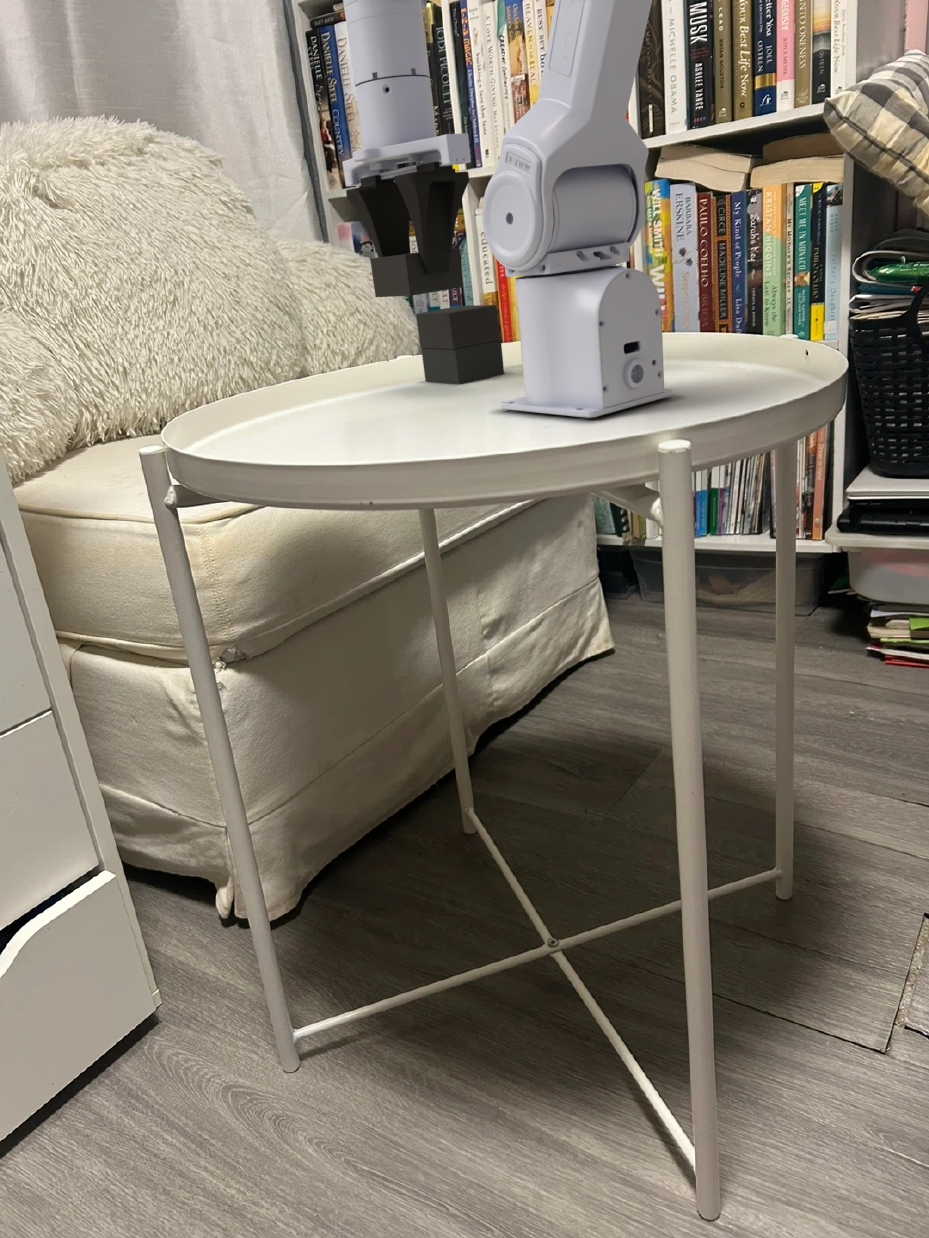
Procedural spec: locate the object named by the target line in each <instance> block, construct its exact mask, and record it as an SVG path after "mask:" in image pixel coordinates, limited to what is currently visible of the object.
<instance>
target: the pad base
mask: <svg viewBox="0 0 929 1238" xmlns="http://www.w3.org/2000/svg"><path fill="white" fill-rule="evenodd" d="M420 349H421V357H422V365H423V373H424V380H425V382H426V383H436V384H437V383H438V384H453V385H461V384H466V383H471V382H475V381H479V380H485V379H488V378H492V377H496V376H502V375H504V374H505V367H504V357H503V356H504V355H503V347H502V339H500V340H497V341H493V342H488V343H483V344H478V345H473V346H468V347H463V348H458V349H431V348H420Z"/></svg>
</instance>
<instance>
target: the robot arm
mask: <svg viewBox="0 0 929 1238" xmlns="http://www.w3.org/2000/svg"><path fill="white" fill-rule="evenodd" d="M427 1H428V0H342V3H343V8H344V18H345V24H346V31H347V38H348V46H349V53H350V59H351V60H350V62H351V67H352V74H353V81H354V82H353V83H354V88H355V95H356V103H357V111H358V118H359V124H360V125H359V126H360V132H361V139H362V146H363V147H362V148H363V149H358V150H356V151H353V152H352V158H349V159H347V160H343V161H342V169H343V176H344V183H345V187H354V188H348V189H346V190H345V195H346V199H347V200H348V202H349V203H350V204H351V206H352V207H353V209H354V210H355V211H356V213H357V215H358V216H359V218H360V220H361V221H362V222H363V225H364V227H365V229H366V231H367V233H368V235H369V237H370V240H371V242H372V245H373V247H374V250H375V253H376V255H377V258H378V257H386V256H394V255H401V254H409V253H411V241H410V221H411V223H412V227H413V232H414V236H415V237H414V238H415V242H416V249H417V252H418V253H419V256H420V260H421V263H422V267H423V269H424V272H425V274H431V273H437V272H444V271H449V270H450V262H451V253H452V248H453V243H454V235H455V228H456V222H457V218H458V214H459V210H460V206H461V203H462V200H463V197H464V194H465V192H466V189H467V187H468V186H469V185H468V184H469V182H470V174H469V171H456V168H454V166H453V165H464V164H469V163H471V162H472V161H471V149H470V140H469V134H468V133H467V132H465V133H462V132H461V133H446V134H442V135H438V136H437V127H436V119H435V109H434V100H433V91H432V83H431V75H430V74H431V73H430V66H429V65H430V64H429V56H428V48H427V39H426V30H425V21H424V20H425V19H424V12H423V11H424V10H426V9H427V5H428V3H427ZM652 3H653V0H554V5H553V11H552V16H551V21H550V28H549V33H548V39H547V45H546V52H545V58H544V64H543V69H542V74H541V80H540V87H539V92H538V98H537V100H536V102H535V103H533V105H532V106H531V107H530V108H529V109H528V111H527V112H525V114H524V115H522V116H521V117H520V118H519V119H518V120H517V121H516V122H515V123H514V124H513V126H511V128H510V129H509V130H508V131H506V133H505V134H504V136H503V137H502V141H501V147H500V154H499V157H498V158H499V160H498V162H497V164H496V165H497V166H496V168H495V170H494V172H493V174H492V176H491V178H490V180H489V181H488V184H487V186H486V188H485V191H484V195H483V201H482V208H481V209H482V210H481V221H482V222H481V223H482V228H483V233H484V238H485V240H486V243H487V246H488V248H489V250H490V252H491V254H492V255H493V256H494V258H495V259H496V260H497V262H498V263H499V264H500V265H502V266H503V267H504V271H505V272H504V275H505V277H506V278H511V277H515V278H514V284H515V296H516V306H517V307H516V309H517V317H518V329H519V341H520V351H521V363H522V372H523V374H522V375H523V384H524V396H519V397H516V398H512V399H508V400H504V401H501V402H500V403H499V406H500V409H501V410H509V411H516V412H517V411H519V412H528V413H538V414H548V415H557V416H566V417H567V416H568V417H578V418H588V419H592V418H597V417H600V416H604V415H608V414H612V413H615V412H618V411H622V410H627V409H630V408H633V407H636V406H640V405H643V404H644V405H645V404H648V403H650V402H655V401H658V400H662V399H665V398H668V397H672V396H673V389H672V388H665V370H664V347H663V345H664V343H663V341H664V340H663V317H662V315H663V314H662V302H661V298H660V295H659V291H658V289H657V287H656V285H655V283H654V281H653V280H652V278H651V277H650V276H649V275H648V274H646V273H645V272H643V271H642V270H638V269H635V268H627V267H625V266H623V265H621V264H622V263H627V262H630V248H631V247H632V246H633V244H634V243H635V242H636V240H637V238H638V236H639V235H640V233H641V230H642V227H643V224H644V221H645V213H646V198H645V188H644V179H645V171H646V165H647V161H648V158H649V157H648V156H649V152H650V151H649V148H648V147H647V145H646V143H645V142H644V141H643V139H642V138H641V137H640V136H639V134H638V132H637V131H636V130H635V129H634V127H633V126H632V125H631V123H630V122H629V120H628V119H627V113H628V109H629V104H630V100H631V97H632V96H631V95H632V92H633V86H634V84H635V83H634V82H635V78H636V74H637V69H638V65H639V60H640V56H641V52H642V47H643V43H644V38H645V34H646V29H647V25H648V21H649V17H650V13H651V8H652ZM406 163H410V164H411V163H417V164H413V165H409V166H405V167H400V168H398V165H400V164H406ZM355 186H358V187H355Z"/></svg>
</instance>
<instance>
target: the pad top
mask: <svg viewBox="0 0 929 1238" xmlns="http://www.w3.org/2000/svg"><path fill="white" fill-rule="evenodd" d="M369 259H370V260H369V262H370V267H371V268H370V269H371V274H372V282H373V290H374V294H375V298H390V297H391V298H392V297H411V296H412V297H413V296H417V295H418V296H419V295H424V294H430V293H436V292H443V291H448V290H455V289H461V288H463V287H464V283H463V275H462V266H461V265H462V264H461V257H460V248H459V247H454V248H453V247H452V253H451V262H450V270H449V271H444V272H437V273H431V274H425V272H424V269H423V267H422V263H421V260H420V256H419V253H418V251H417V252H410V253H409V254H401V255H394V256H386V257H378V256H377V257H373V258H369Z"/></svg>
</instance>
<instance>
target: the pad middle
mask: <svg viewBox="0 0 929 1238" xmlns="http://www.w3.org/2000/svg"><path fill="white" fill-rule="evenodd" d="M415 316H416V325H417V332H418V333H417V334H418V340H419V348H420V349H422V348H431V349H458V348H463V347H468V346H473V345H478V344H483V343H488V342H493V341H497V340H501V334H500V325H499V314H498V305H497V304H483V305H482V304H481V305H480V304H478V305H459V306H453V307H447V308H441V309H436V310H431V311H429V310H428V311H424V312H418V313H415Z"/></svg>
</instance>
